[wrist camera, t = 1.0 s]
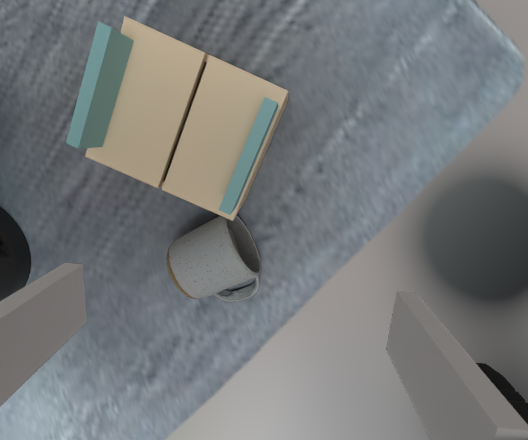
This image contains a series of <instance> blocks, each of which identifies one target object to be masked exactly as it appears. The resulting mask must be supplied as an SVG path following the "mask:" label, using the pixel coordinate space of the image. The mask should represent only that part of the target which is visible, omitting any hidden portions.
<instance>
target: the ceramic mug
mask: <svg viewBox="0 0 528 440" xmlns="http://www.w3.org/2000/svg"><path fill="white" fill-rule="evenodd" d="M167 266H168V270H169V273H170V276H171V278H172V280H173V282H174V283H175V285H176V286H177V288H178V289H179V290H180V291H181V292H182V293H183V294H185V295H186V296H188V297H190V298H193V299H199V298H204V297H208V296H211V295H214V296H216V297H217V298H219V299H221V300H224V301H230V302H235V301H241V300H245V299H247V298H249V297H251V296H253V295H254V294H255V293H256V292H257V290H258V288H259V284H260V280H259V275H260V273H261V261H260V257H259V253H258V250H257V247H256V244H255V243H254V241H253V239H252V236H251V234H250V232H249V231H248V229H247V227H246V226H245V225H244V223H243V222H242V220H241V219H240V218H239V217H238V216H237V215H236V217H235V219H234V220H233V221H232V220H230V219H227V218H225V217H223V216H218V217H216V218H215V219H213V220H211V221H209V222H207V223H205V224H203V225H202V226H200V227H198V228H197V229H195V230H193V231H191V232H189V233H187V234H185V235H183V236H182V237H180V238H179V239H177V240H176V241H175V242H174V243H173V244H172V245H171V246H170V247H169V249H168V253H167ZM253 278H255V281H254V283H252V284H251V285H250V286H248V287H245V288H242V289H239V290H235V291H226V290H225V289H227V288H230V287H232V286H235V285H238V284H240V283H243V282H245V281H248V280H250V279H253Z"/></svg>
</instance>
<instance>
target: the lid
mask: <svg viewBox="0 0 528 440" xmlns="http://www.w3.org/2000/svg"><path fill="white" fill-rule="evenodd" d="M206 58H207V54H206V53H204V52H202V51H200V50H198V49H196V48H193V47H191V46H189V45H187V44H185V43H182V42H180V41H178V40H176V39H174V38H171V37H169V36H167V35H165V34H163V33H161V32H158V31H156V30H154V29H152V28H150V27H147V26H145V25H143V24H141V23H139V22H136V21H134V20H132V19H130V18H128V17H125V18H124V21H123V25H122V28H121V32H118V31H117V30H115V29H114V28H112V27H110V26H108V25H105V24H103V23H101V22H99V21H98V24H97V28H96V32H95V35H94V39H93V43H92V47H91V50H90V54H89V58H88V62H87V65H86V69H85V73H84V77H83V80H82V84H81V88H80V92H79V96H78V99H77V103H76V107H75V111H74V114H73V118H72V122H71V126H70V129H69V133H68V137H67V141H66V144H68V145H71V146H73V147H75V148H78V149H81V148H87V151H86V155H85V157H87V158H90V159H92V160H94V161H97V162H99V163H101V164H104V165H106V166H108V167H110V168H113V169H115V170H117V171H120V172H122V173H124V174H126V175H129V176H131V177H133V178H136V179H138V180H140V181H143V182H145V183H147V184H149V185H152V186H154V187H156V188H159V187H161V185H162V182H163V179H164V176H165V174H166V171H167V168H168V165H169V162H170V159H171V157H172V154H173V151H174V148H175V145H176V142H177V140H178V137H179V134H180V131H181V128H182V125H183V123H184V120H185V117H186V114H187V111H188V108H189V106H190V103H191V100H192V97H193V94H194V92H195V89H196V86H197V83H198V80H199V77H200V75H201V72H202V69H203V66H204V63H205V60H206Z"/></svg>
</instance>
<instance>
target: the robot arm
mask: <svg viewBox="0 0 528 440" xmlns="http://www.w3.org/2000/svg"><path fill="white" fill-rule="evenodd" d="M29 271H30V255H29V250H28V246H27V243H26V241H25V238H24V236H23V234H22V232H21V230H20V229H19V227H18V226H17V224H16V223H15V222H14V221H13V219H12V218H11V217H10V216H9V215H8V214H7V213H6V212H5V211H4V210H2V209H1V208H0V407H1V406H2V405H3V404H4V403H5V402H6V401H7V400H8V399H9V398H10V397H11V396H12V395H13V394H14V393H15V392H16V391H17V390H18V389H19V388H20V387H21V386H22V385H23V384H24V383H25V382H26V381H27V380H28V379H29V378H30V377H31V376H32V375H33V374H34V373H35V372H36V371H37V370H38V369H39V368H41V367H42V366H43V365H44V364H45V363H46V362H47V361H48V360H49V359H50V358H51V357H52V356H53V355H54V354H55V353H56V352H57V351H58V350H59V349H60V348H61V347H62V346H63V345H64V344H65V343H66V342H67V341H68V340H69V339H70V338H71V337H72V336H73V335H74V334H75V333H76V332H77V331H78V330H80V329H81V328H82V327H83V326H84V325H85V324H86V323H87V319H86V305H85V291H84V277H83V264H74V263H64V264H62V265H60V266H59V267H57V268H55V269H54V270H52V271H50V272H49V273H47V274H45V275H44V276H42V277H40V278H39V279H37V280H35V281H34V282H32V283H30V284H29V285H27V286H25V284H26V281H27V279H28V276H29ZM24 286H25V287H24ZM386 350H387V352H388V354H389V356H390V358H391V361H392V363H393V365H394V367H395V369H396V371H397V373H398V375H399V377H400V379H401V381H402V383H403V385H404V387H405V389H406V391H407V393H408V395H409V398H410V400H411V401H412V403H413V406H414V408H415V410H416V412H417V414H418V416H419V418H420V420H421V422H422V424H423V426H424V428H425V430H426V432H427V434H428V437H429V439H430V440H528V403H526V402H525V400H524V398H523V397H522V396H521V395H520V394H519V393H518V392H515V389H514V388H513V386H512V385H511V384H510V383H509V382H508V381H507V380H506V379H505V378H504V377H503V376H502V375H501V374H500V373H498V372H497V371H495V370H494V369H492V368H491V367H490V366H488V365H486V364H482V363H475V362H474V361H473V359H472V358H471V357H470V356H469V355H468V354H467V352H466V351H465V350H464V349H463V348H462V346H461V345H460V344H459V343H458V342H457V341H456V339H455V338H454V337H453V336H452V335H451V334H450V332H449V331H448V330H447V329H446V328H445V326H444V325H443V324H442V323H441V322H440V321H439V319H438V318H437V317H436V316H435V315H434V313H433V312H432V311H431V310H430V309H429V308H428V306H427V305H426V304H425V303H424V302H423V301H422V299H421V298H420V297H419V296H418V295H417V293H416V292H405V291H397V293H396V298H395V304H394V309H393V314H392V319H391V325H390V330H389V336H388V341H387V347H386Z"/></svg>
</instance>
